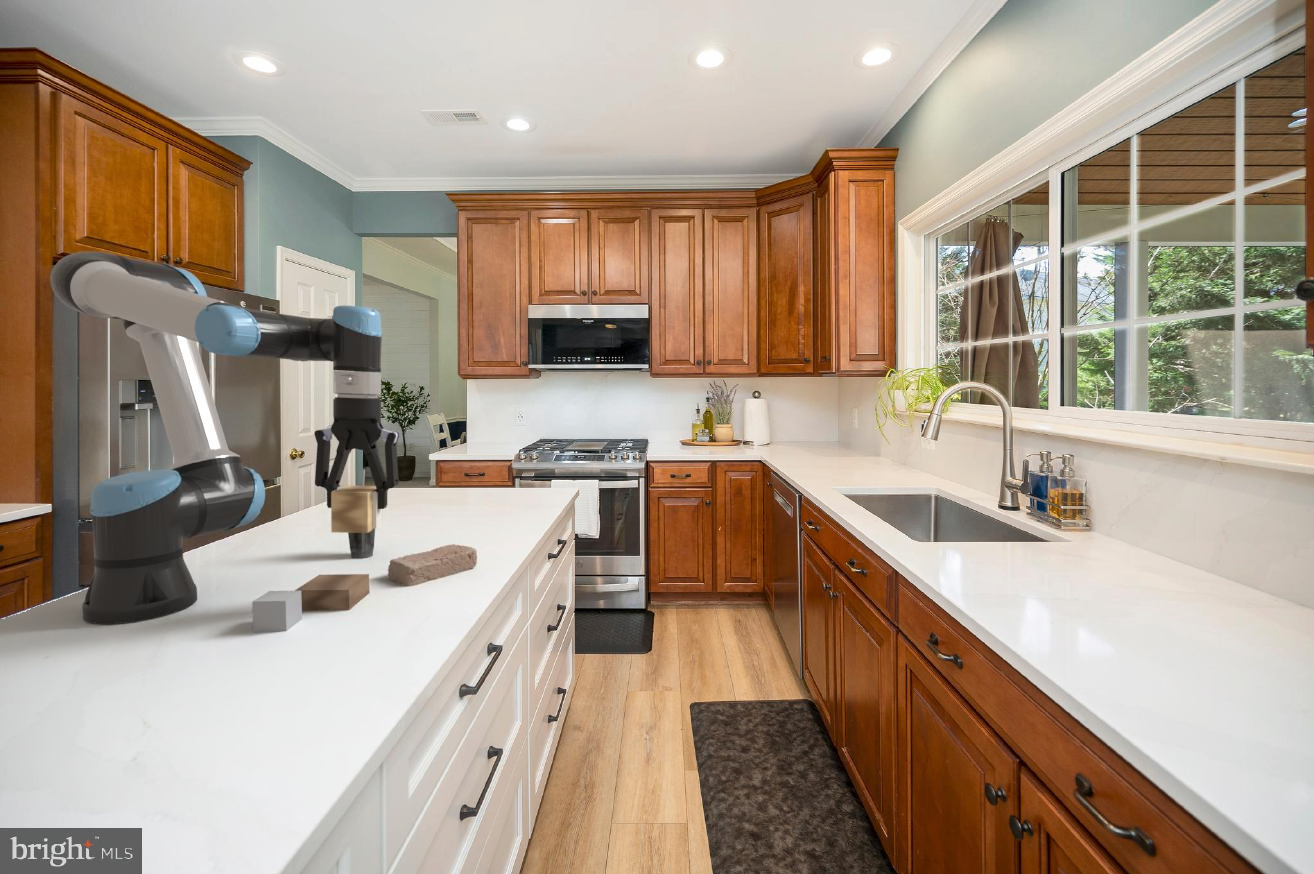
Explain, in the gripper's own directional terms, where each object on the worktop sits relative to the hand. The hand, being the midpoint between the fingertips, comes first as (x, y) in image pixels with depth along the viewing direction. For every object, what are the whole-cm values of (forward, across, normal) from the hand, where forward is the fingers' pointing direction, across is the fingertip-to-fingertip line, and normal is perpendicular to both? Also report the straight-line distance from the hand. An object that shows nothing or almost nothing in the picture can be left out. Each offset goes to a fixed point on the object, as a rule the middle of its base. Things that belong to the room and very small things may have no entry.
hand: (357, 526), depth 108 cm
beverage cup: (+15, -11, +32) cm, 37 cm away
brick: (+15, +9, +18) cm, 25 cm away
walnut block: (+15, -4, +1) cm, 15 cm away
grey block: (+14, -8, -10) cm, 19 cm away
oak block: (0, 0, 0) cm, 0 cm away
